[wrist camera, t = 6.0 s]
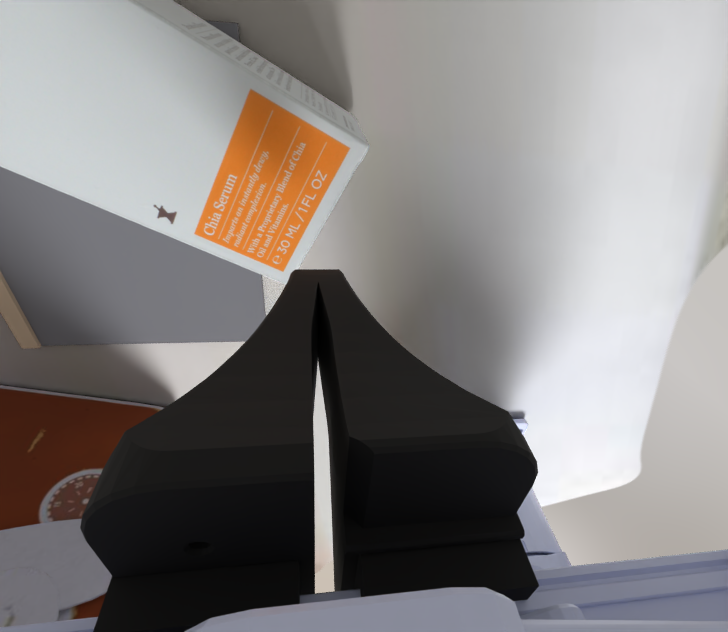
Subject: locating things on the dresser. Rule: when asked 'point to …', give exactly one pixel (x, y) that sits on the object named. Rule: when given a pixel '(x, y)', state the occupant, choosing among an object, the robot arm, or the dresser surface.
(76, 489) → the cine camera
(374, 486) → the robot arm
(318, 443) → the dresser surface
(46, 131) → the skincare box
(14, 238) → the rubber mat
